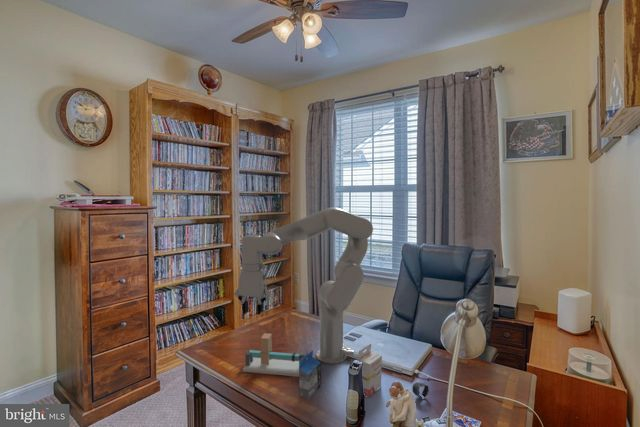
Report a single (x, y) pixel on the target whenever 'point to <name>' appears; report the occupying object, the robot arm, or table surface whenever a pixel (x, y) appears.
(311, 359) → the label tape box
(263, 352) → the tan slotted box
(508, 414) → the table surface
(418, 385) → the wristwatch
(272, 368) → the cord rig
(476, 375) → the table surface
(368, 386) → the ink cartridge box
